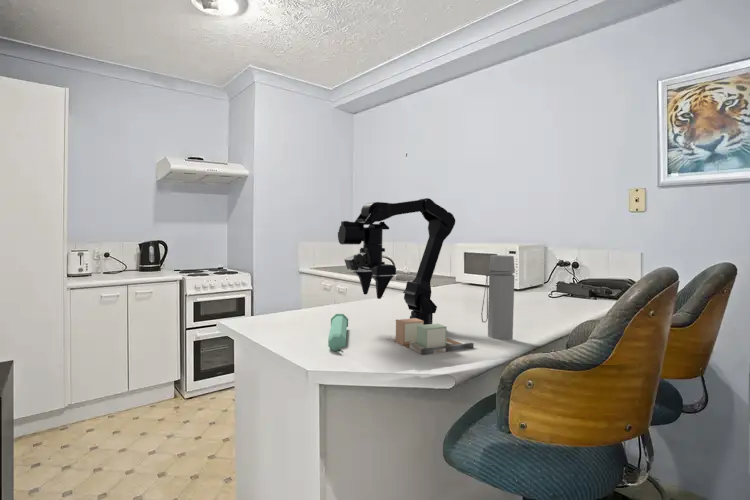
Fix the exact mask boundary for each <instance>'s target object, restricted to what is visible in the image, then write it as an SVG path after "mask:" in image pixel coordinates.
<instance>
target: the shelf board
mask: <svg viewBox="0 0 750 500" xmlns="http://www.w3.org/2000/svg"><path fill="white" fill-rule="evenodd" d="M393 342H394V343H395V344H396V343H397V344H398V345H401V346H403V347H405V348H408V349H409V350H412V351H413V352H415V353H417V354H420V355H422V356H425V355H426V356H427V355H436V354H440V353H447V352H455V351H461V350H468V349H474V346H475V343H474V342H466V343H462V342H459V341H456V340H455V339H454V340H453V339H452V338H449V337H446V346H442V347H434V348H427V349H424V347H422V346H420V345H417V341H412V342H410V344H407V345H402V344H400V343H398V342H396V340H394V341H393Z"/></svg>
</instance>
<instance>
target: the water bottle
mask: <svg viewBox="0 0 750 500" xmlns="http://www.w3.org/2000/svg"><path fill="white" fill-rule="evenodd" d="M488 270H489V271H486V272H485V277H486V279H485V286H484V291H483V292H484V295H483V300H482V305H481V314H480V315H481V323H487V337H488V338H491V339H496V340H503V341H505V340H513V339H514V338H513V337H514V336H513V335H514V333H513V332H514V309H515V308H514V306H515V305H514V304H515V303H514V302H515V275H514V274H515V273H516V269H515V256H514V255H506V254H505V255H504V254H499V255H498V254H495V255H494V254H491V255H490V259H489V266H488ZM488 278H489V279H488ZM485 297H486V320H485V321H484V319H483V310H484V304H485Z"/></svg>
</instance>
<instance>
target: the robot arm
mask: <svg viewBox="0 0 750 500" xmlns="http://www.w3.org/2000/svg"><path fill="white" fill-rule="evenodd" d="M411 213H421V215H422V217H423V218H424V219H425V220H426V222H427V223H428V226H427V230H428V231H427V232H428V239H427V242H426V244H425V249H424V251H423V254H422V258H421V260H420V263H419V266H418V269H417V272H416V276H415V278H414V279H413V280H412V281H411V280H410V281H409V280H408V281H407V282H406V285H405V288H404V290H403V292H402V293H403V294H404V296H403V300H404V302H405V303H406V304H407V306H408V307H407V308H408V310H409V311H411V312H410V316H409V319H412V318H417V319H420V320H423V321H424V325H427V324H433V316H434V315H433V314H436V311H437V308H438V306H437V305H436V304H435V303H434V302H433V301H432V299H431V296H432V285H431V282H432V281H431V280H432V279H433V275H434V271H435V269H436V266H437V263H438V259H439V256H440V253H441V250H442V248H443V244H444V242H445V240H446V239H447V238H448V236H450V235H451V233H452V231H453V229H454V227H455V224H456V218H455V216H454V215H453V213H452V212H450V211H447V209H445V208H444V207H442V206H441V205H439V204H437V203H436V202H435V201H434V200H433V199H431V198H429V197H428V198H420V199H418V200H415V199H414V200H410V201H409V200H407V201H402V202H397V203H396V202H394V203H393V202H392V203H391V202H384V201H383V202H382V201H381V202H380V201H374V202H368V203H364V204H363V206H362V207H361V209H360V213H359V215H357V216H358V217H357V218H356V219H355V221H350V220H341V222H340V226H339V228H338V232H337V240H338V243H339V245H361V244H362V242H363V245H362V246H363V247H360V249H359V252H358V253H355V254H353V255H350V256H348V257H346V258H344V263H345V266H346V269H347V270H351V271H352V273H353V274H355V275H356V276H357V277H358V279H359V282H360V286H361V289H362V292H363V293H362V294H363V295H368V293H369V290H370V287H371V283H372V279H373V280H374V281H375V282H374V283H375V290H376V299H377V300H378V299H379V300H380V299H382V297H383V295H384V293H385V291H386V290H387V287H388V285H389V284H390V281H391V280H392V278H394V276H396V275H397V268H396V266H395V265H394V264H388V263H387V264H386V263H385V261H383V253H384V252H386V248H385V247H383V232H384V231H383V230H390V226H388V225H387V224H386V223H385V220H388V219H390V218H392V217H395V216H398V215H399V216H400V215H406V214H411ZM376 222H379V223H376ZM365 225H366V226H367V225H368V227H365Z"/></svg>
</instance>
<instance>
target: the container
mask: <svg viewBox="0 0 750 500" xmlns="http://www.w3.org/2000/svg"><path fill="white" fill-rule="evenodd" d="M348 327H349V318H348V317H347V316H346V315H345V314H344V313H335V314H334V315H333V316H332V317H331V318H330V329H329V332H328V333H329V334H328V343H327V345H328V347H329V349H331V350H332V351H334V352H341V351H342V349H341V348H344V347H346V346H347V330H348V329H347V328H348Z"/></svg>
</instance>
